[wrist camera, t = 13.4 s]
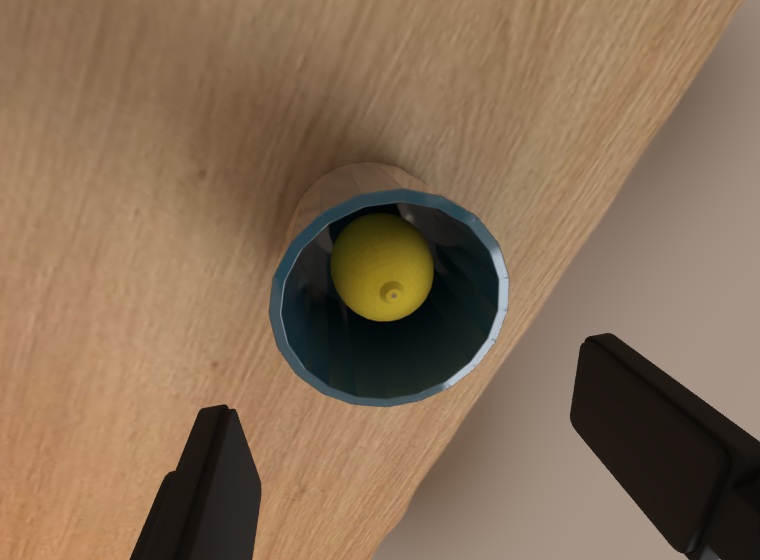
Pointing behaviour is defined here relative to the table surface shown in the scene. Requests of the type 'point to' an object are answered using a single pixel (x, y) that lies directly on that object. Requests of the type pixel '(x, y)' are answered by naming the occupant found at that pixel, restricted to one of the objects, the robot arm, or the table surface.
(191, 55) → the table surface
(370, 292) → the lemon
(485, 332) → the blue cylindrical container
